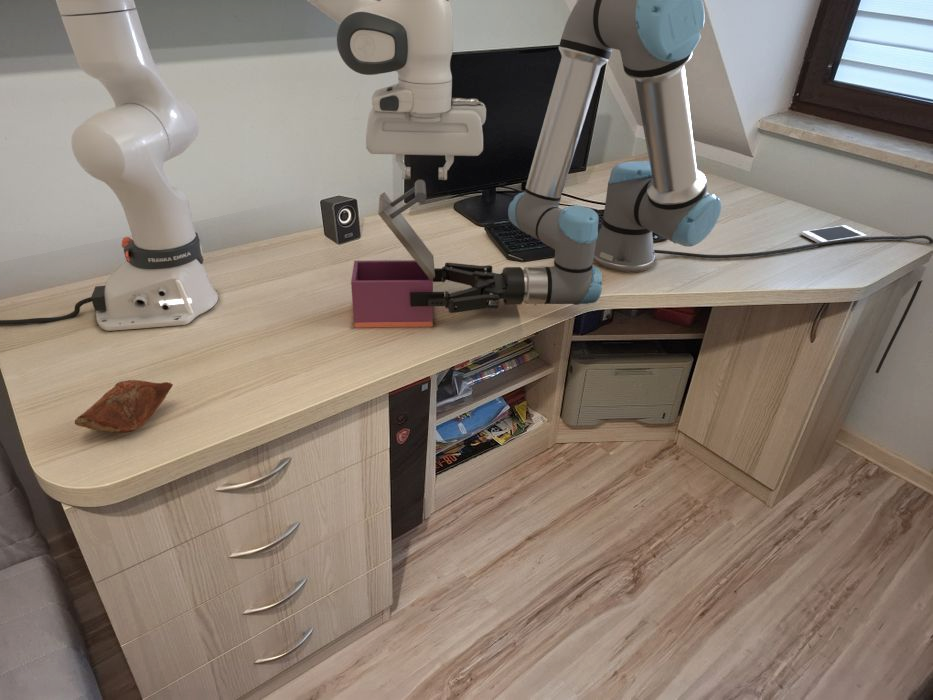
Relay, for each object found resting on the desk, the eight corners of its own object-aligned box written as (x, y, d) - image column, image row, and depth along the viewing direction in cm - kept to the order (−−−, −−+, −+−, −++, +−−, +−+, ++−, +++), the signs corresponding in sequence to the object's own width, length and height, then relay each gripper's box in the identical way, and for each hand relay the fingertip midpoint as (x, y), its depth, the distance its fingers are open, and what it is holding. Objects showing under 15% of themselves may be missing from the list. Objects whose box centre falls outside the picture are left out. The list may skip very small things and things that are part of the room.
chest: (354, 327, 124) (350, 282, 119) (357, 304, 132) (354, 260, 127) (432, 326, 126) (433, 281, 120) (431, 303, 133) (431, 260, 128)
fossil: (179, 377, 103) (140, 354, 94) (189, 423, 99) (149, 403, 90) (107, 409, 103) (61, 389, 94) (114, 456, 99) (67, 439, 90)
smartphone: (800, 234, 170) (801, 231, 170) (844, 227, 175) (845, 224, 174) (821, 245, 165) (822, 241, 164) (865, 238, 169) (867, 234, 169)
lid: (377, 213, 112) (417, 186, 110) (379, 195, 120) (417, 169, 117) (430, 280, 120) (468, 255, 118) (429, 258, 128) (464, 235, 125)
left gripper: (485, 94, 110) (480, 173, 117) (365, 91, 108) (368, 171, 115) (489, 103, 104) (484, 185, 112) (363, 100, 103) (366, 183, 110)
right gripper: (529, 330, 120) (410, 332, 119) (513, 277, 139) (410, 278, 137) (533, 296, 116) (410, 297, 114) (516, 245, 134) (409, 246, 133)
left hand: (424, 178), depth 114 cm, fingers open, 5 cm apart
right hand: (410, 286), depth 126 cm, fingers closed on chest, 9 cm apart
